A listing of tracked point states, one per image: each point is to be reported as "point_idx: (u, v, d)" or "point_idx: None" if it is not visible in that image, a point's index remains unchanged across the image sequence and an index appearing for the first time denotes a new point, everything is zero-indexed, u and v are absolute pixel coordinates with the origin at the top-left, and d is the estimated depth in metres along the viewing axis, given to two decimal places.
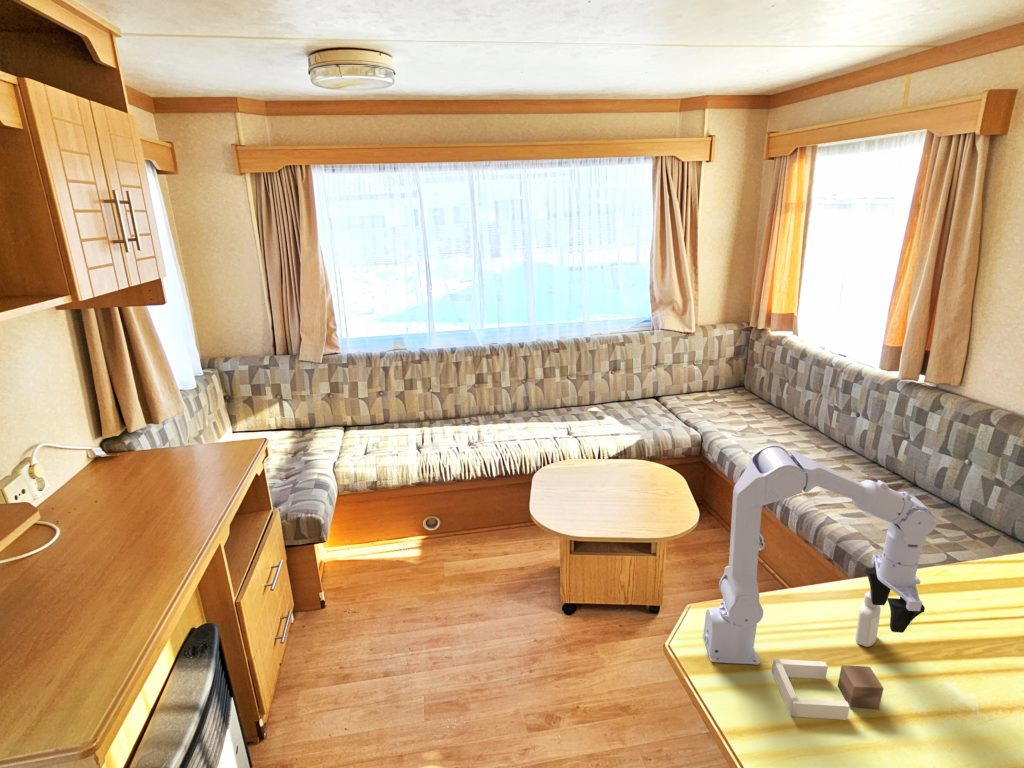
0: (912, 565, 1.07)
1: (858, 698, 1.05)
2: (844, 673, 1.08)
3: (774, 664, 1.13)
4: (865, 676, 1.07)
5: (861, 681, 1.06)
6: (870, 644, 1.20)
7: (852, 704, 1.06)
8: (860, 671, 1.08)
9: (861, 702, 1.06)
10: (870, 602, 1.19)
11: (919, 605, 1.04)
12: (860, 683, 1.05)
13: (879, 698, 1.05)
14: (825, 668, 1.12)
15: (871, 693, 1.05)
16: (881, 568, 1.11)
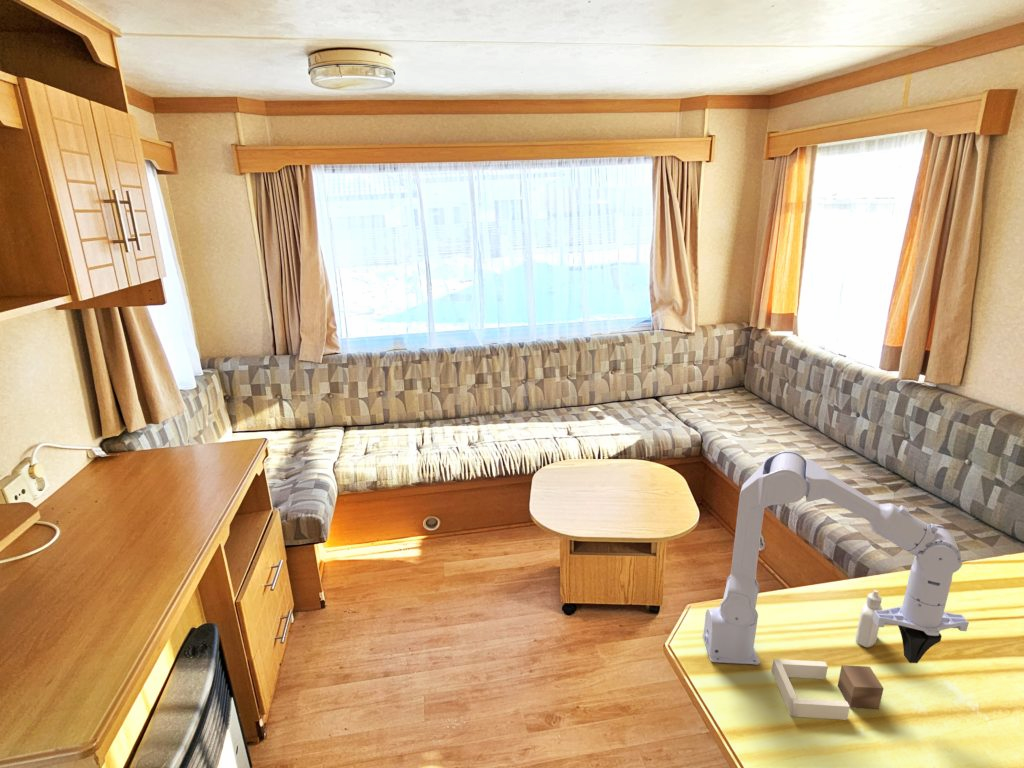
0: (911, 596, 1.00)
1: (858, 698, 1.05)
2: (844, 673, 1.08)
3: (774, 664, 1.13)
4: (865, 676, 1.07)
5: (861, 681, 1.06)
6: (870, 645, 1.20)
7: (852, 704, 1.06)
8: (860, 671, 1.08)
9: (861, 702, 1.06)
10: (872, 603, 1.18)
11: (878, 619, 1.02)
12: (860, 683, 1.05)
13: (879, 698, 1.05)
14: (825, 668, 1.12)
15: (871, 693, 1.05)
16: None
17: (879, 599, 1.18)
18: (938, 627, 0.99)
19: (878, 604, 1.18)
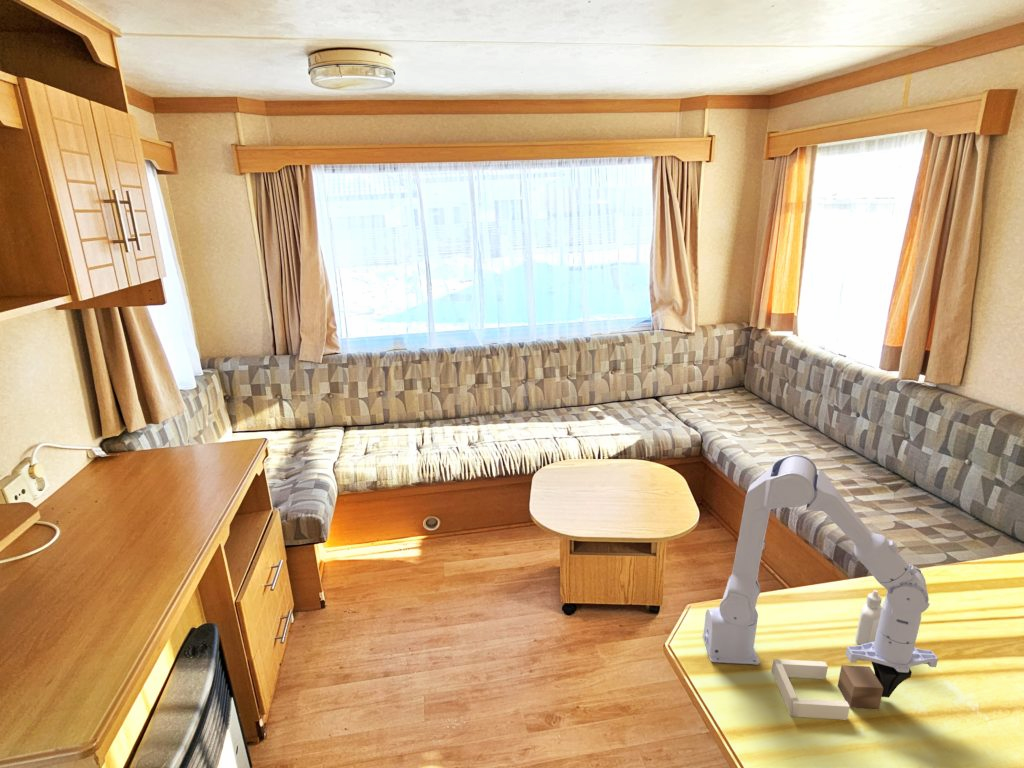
0: (882, 633, 1.03)
1: (858, 698, 1.05)
2: (844, 673, 1.08)
3: (774, 664, 1.13)
4: (865, 676, 1.07)
5: (861, 681, 1.06)
6: None
7: (852, 704, 1.06)
8: (860, 671, 1.08)
9: (861, 702, 1.06)
10: (872, 603, 1.18)
11: (850, 655, 1.05)
12: (860, 683, 1.05)
13: (879, 698, 1.05)
14: (825, 668, 1.12)
15: (871, 693, 1.05)
16: None
17: (879, 599, 1.18)
18: (908, 664, 1.02)
19: (878, 604, 1.18)
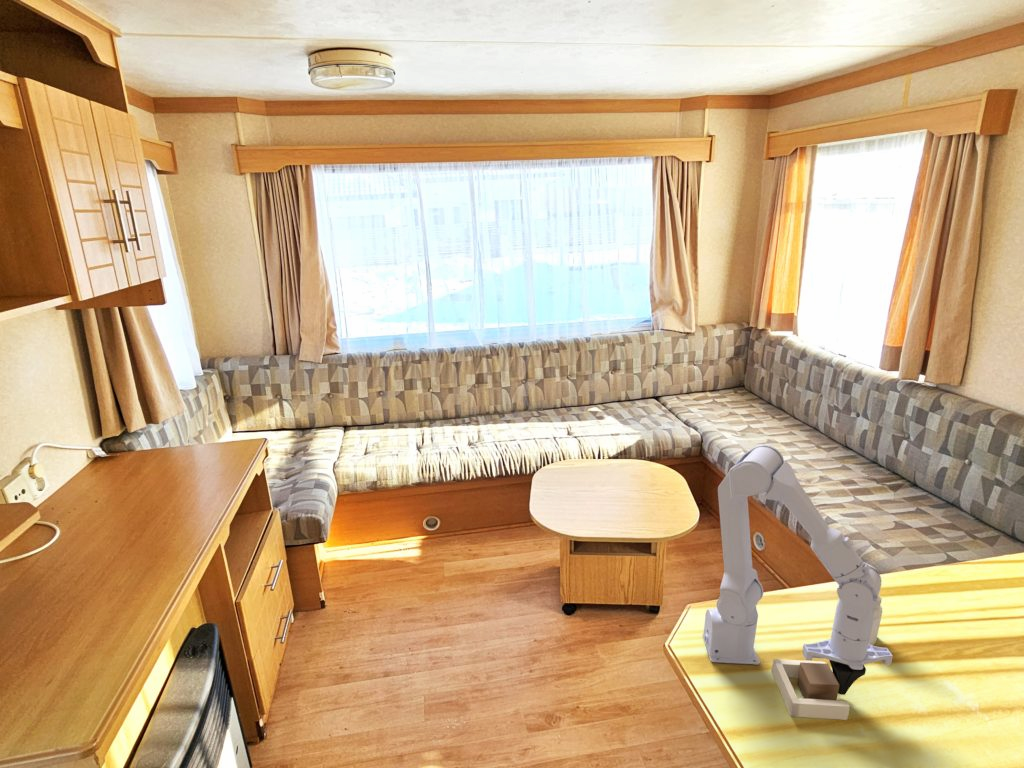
0: (837, 631, 1.03)
1: (815, 695, 1.06)
2: (802, 670, 1.09)
3: (774, 664, 1.13)
4: (822, 673, 1.07)
5: (818, 678, 1.06)
6: None
7: None
8: (818, 668, 1.08)
9: None
10: None
11: (806, 653, 1.06)
12: (816, 680, 1.06)
13: (835, 695, 1.06)
14: None
15: (827, 690, 1.05)
16: None
17: (879, 599, 1.18)
18: (862, 661, 1.03)
19: (878, 604, 1.18)
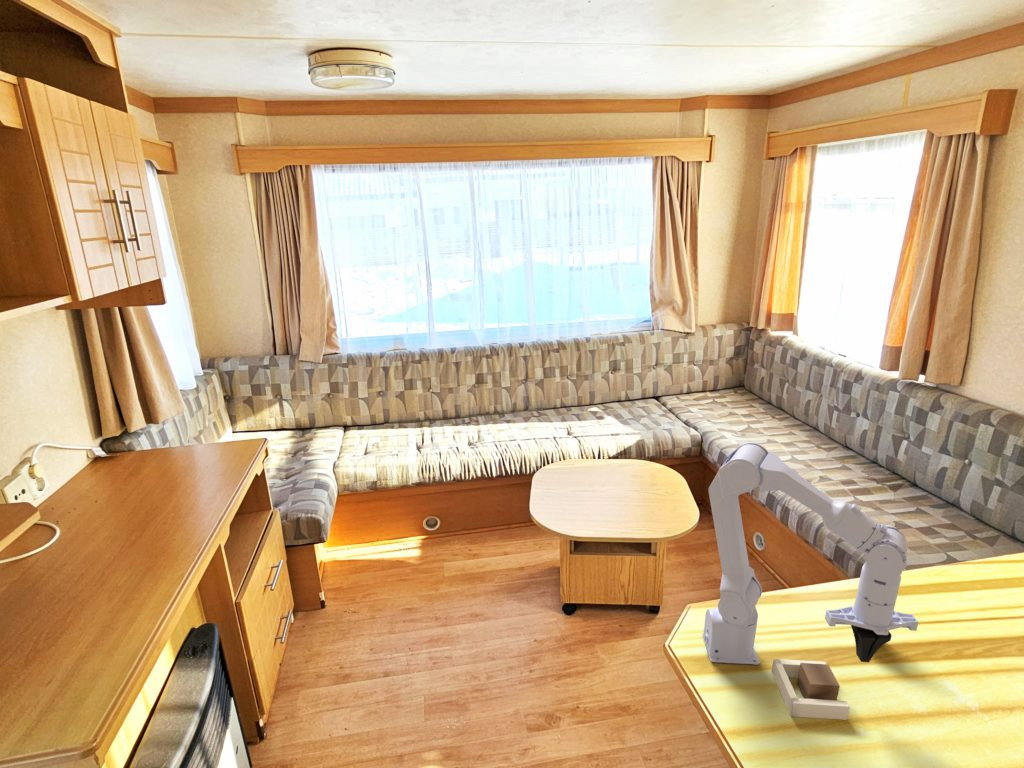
0: (861, 596, 1.01)
1: (815, 696, 1.06)
2: (802, 670, 1.09)
3: (774, 664, 1.13)
4: (822, 673, 1.07)
5: (818, 678, 1.06)
6: None
7: None
8: (818, 669, 1.09)
9: None
10: None
11: (829, 619, 1.03)
12: (817, 681, 1.06)
13: (836, 696, 1.06)
14: None
15: (827, 691, 1.05)
16: None
17: None
18: (888, 627, 1.00)
19: None
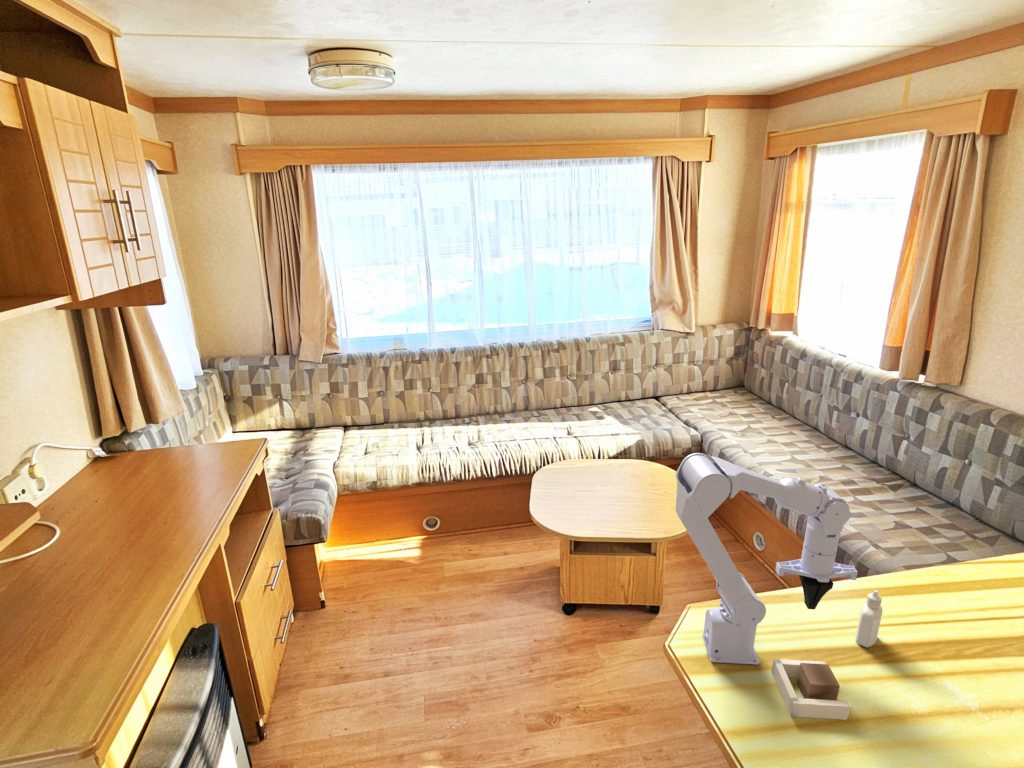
0: (806, 548, 1.13)
1: (815, 696, 1.06)
2: (802, 670, 1.09)
3: (774, 664, 1.13)
4: (822, 673, 1.07)
5: (818, 678, 1.06)
6: (870, 645, 1.20)
7: None
8: (818, 669, 1.09)
9: None
10: (872, 603, 1.18)
11: (778, 569, 1.15)
12: (817, 681, 1.06)
13: (836, 696, 1.06)
14: None
15: (827, 691, 1.05)
16: None
17: (879, 599, 1.18)
18: (829, 575, 1.12)
19: (878, 604, 1.18)
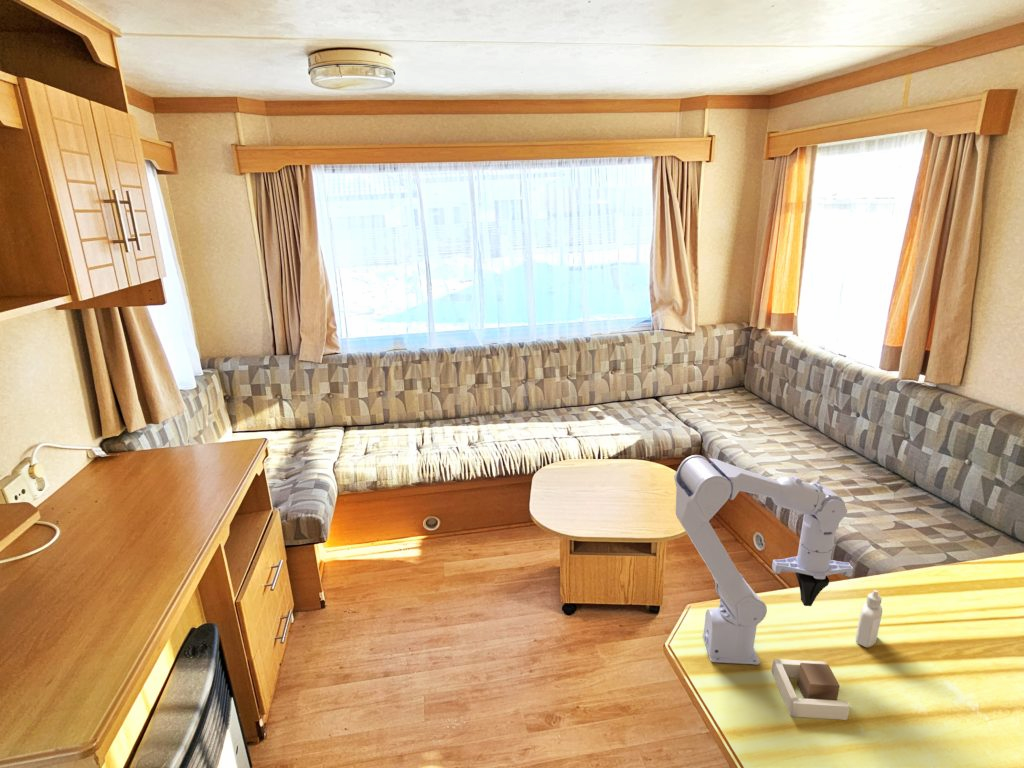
0: (802, 545, 1.14)
1: (815, 696, 1.06)
2: (802, 670, 1.09)
3: (774, 664, 1.13)
4: (822, 673, 1.07)
5: (818, 678, 1.06)
6: (870, 645, 1.20)
7: None
8: (818, 669, 1.09)
9: None
10: (872, 603, 1.18)
11: (775, 567, 1.16)
12: (817, 681, 1.06)
13: (836, 696, 1.06)
14: None
15: (827, 691, 1.05)
16: None
17: (879, 599, 1.18)
18: (825, 572, 1.13)
19: (878, 604, 1.18)
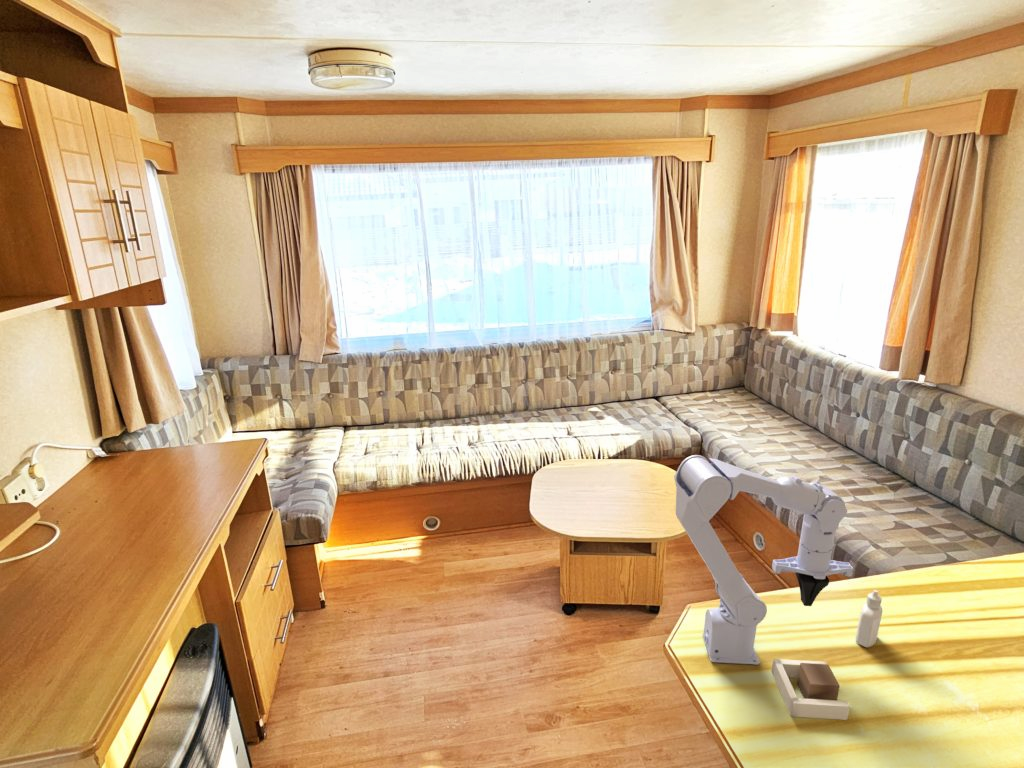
0: (802, 545, 1.14)
1: (815, 695, 1.06)
2: (802, 670, 1.09)
3: (774, 664, 1.13)
4: (822, 673, 1.07)
5: (818, 678, 1.06)
6: (870, 645, 1.20)
7: None
8: (818, 669, 1.09)
9: None
10: (872, 603, 1.18)
11: (775, 567, 1.16)
12: (817, 681, 1.06)
13: (836, 696, 1.06)
14: None
15: (827, 691, 1.05)
16: None
17: (879, 599, 1.18)
18: (825, 572, 1.13)
19: (878, 604, 1.18)
